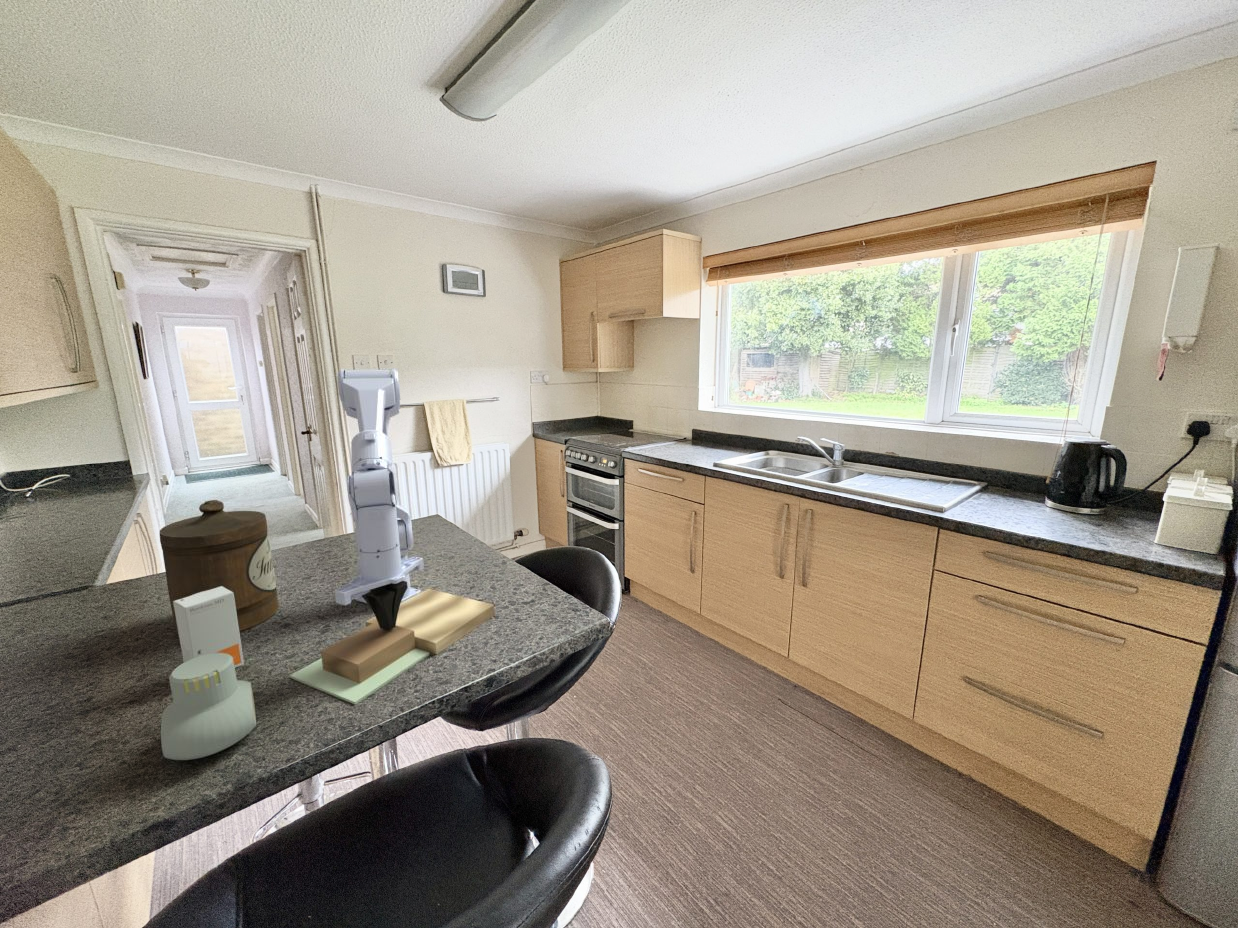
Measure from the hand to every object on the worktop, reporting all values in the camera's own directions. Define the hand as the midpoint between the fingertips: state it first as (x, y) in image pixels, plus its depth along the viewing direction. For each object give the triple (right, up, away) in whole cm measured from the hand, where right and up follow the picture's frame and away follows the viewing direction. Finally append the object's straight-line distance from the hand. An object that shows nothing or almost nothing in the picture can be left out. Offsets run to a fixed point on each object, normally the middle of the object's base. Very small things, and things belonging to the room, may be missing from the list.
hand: (387, 627), depth 79 cm
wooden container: (-34, -2, +11) cm, 36 cm away
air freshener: (-13, -8, -18) cm, 24 cm away
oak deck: (+4, -2, +9) cm, 10 cm away
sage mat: (-2, -5, -4) cm, 6 cm away
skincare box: (-24, -5, -5) cm, 25 cm away
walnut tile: (-1, -4, -3) cm, 5 cm away
